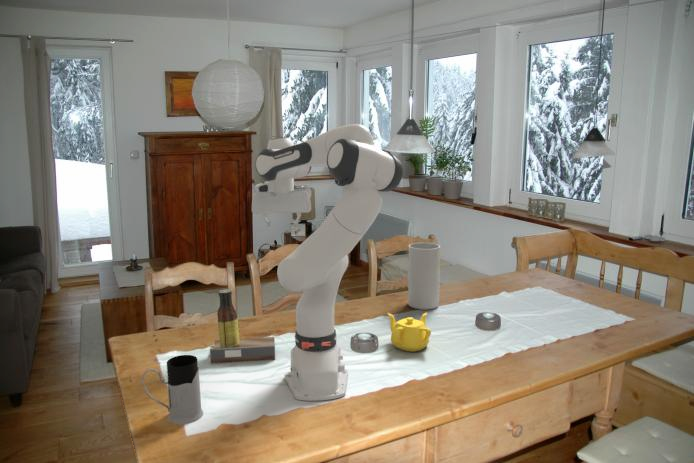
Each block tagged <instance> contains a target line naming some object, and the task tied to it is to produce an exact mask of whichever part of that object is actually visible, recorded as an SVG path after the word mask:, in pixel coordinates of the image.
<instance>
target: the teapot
mask: <svg viewBox="0 0 694 463" xmlns="http://www.w3.org/2000/svg"><path fill="white" fill-rule="evenodd" d="M387 315H388V316H389V319H390V332H391V335H390V342H391V343H392V346H393V347H395V348H397V349H399V350H402V351H405V352H411V353H412V352H413V353H414V352H418V351H421V350H423V349H425V348H427V346H428V344H429V343H430V337H431V335H432V330H431V329H430V328H429V327H426V318H427V315H428V312H424V313H422V315H421V317H420V320H418V319H414V317H412V316H411V317H410V316H409V317H406V318H402V319H399V320H398V321H396V319H395V317H394V315H393V314H392V313H390V312H387Z"/></svg>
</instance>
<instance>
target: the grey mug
mask: <svg viewBox="0 0 694 463" xmlns="http://www.w3.org/2000/svg"><path fill="white" fill-rule="evenodd" d="M149 372H155V373H157V375H158V377H159V382H160V384H161V385H167V395H168V405H167V404H166V403H164V402H162V401H160V400H158V399H157V398H155V397H154V396H152V394H150V392H149V391H148V390H147V387H146V385H145V380H144V379H145V378H144V377H145V375H146V374H147V373H149ZM166 372H167V381H165V382H164V381H163V380H162V375H161V373H160V371H159V370H157V369H155V368H150V369H149V368H148V369H147V370H146V371H144V372H143V374H142V377H141V378H142V379H141V381H142V383H141V384H142V387H143V389H144V391H145V393H146V394H147V397H149V398H150V399H151V400H153V401H154V402H156V403H158V404H159V405H161V406H163V407H165V408H166V409H167V412H168V413H169V414H168V417H167V419H168V421H169V422H170V423H171V424H175V425H186V424H187V425H188V424H192V423H195V422H197V421H199V420H200V419H201V418H203V416H204V410H203V409H202V401H201V400H202V398H201V387H200V386H201V385H200V384H201V383H200V382H201V381H200V367H199V363H198V357H196V356H195V355H192V354H191V355H190V354H182V355H176V356H173V357H171V358H169V359H168V360H167V361H166Z"/></svg>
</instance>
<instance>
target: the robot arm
mask: <svg viewBox="0 0 694 463" xmlns="http://www.w3.org/2000/svg"><path fill="white" fill-rule="evenodd" d="M254 165H255V170H256V172H257V174H258V175H259V176H260V177H261V178H262V179H263V180H265V181H262V182H260V183H258V184H255V186H254V191H255V192H254V193H253V196H252V199H251V200H252V201H251V212H252V214H253V215H262V218H263V220H264V222H265V227H266V228H269V227H271V220H268V218H267V216H268V215H269V214H296V216H297V217H296V219H293V226H295V227H298V226H299V220H300V219H301V217H302V214H305V213H307V214H308V213H310V212H311V210H312V203H311V197H312V196H313V194H312V193H313V192H312V191H313V190H312V188H311V187H310V186H308V185H295V179H299V178H300V179H301V178H304V177H307V176H308V175H309V174H310V172H311V170H312V167H313V168H327V169H328V170H329V173H330V175H331V176H332V178H334V183H335V185H337V187H344V190H343V193H342V196H341V197H340V198H339V200H338V201H337V202H336V204H335V205H334V206H333V207H332V209H331V210H330V212H329V213H328V215H327V216H326V217H325V218H324V220H323V221H322V222H321V224H320V225H319V226H318V227H317V228H316V229H315V230H314V231H313V233H311V234H310V235H309V236H308V237H307V238H306V239H305V240H304V241H302V243H300V244H299V245H298V247H296V248H295V250H293V251H292V252H291V253H290V254H288V255H287V256H286V257H284V258H283V259H282V260H281V261H280V262H279V263H278V265H277V270H276V271H277V272H276V274H277V279H278V282H279V283H280V285H281V286H282V287H283V288H284V289H285V290H287V291H288V292H290V293H291V292H293V293H295V292H303V293H302V294H301V297H300V298H299V300H298V301H297V304H296V307H295V314H296V316H295V318H296V330H295V332H294V339H295V341H294V342H295V345H294V346H293V348H292V349H291V350H290V371H288V372H285V374H284V377H283V378H284V380H285V381H286V384H287V385H288V387H289V389H290V391H291V393H292V395H293V397H294V398H295V399H296V400H298V401H306V402H307V401H308V402H309V401H310V402H313V401H314V402H315V401H316V402H317V401H318V402H319V401H328V400H334V399H339V398H343V397H344V396H346V392H347V386H348V379H349V378H348V376H349V370H348V369H346V368H345V367H346V366H345V364H344V363H342V360H344V356H343V354H342V352H341V349H342V348H341V346H339V344H337V332H336V328H335V305H336V299H337V294H338V290H339V286H340V285H341V284H340V283H341V280H342V278H343V276H344V274H345V272H346V271H347V269H348V267H349V264H350V263H349V254H350V253H351V252H352V251H353V249H355V247H356V246H357V244H358V243H359V242H360V241H361V239H362V238H363V237H364V235H366V233H367V232H368V230H369V229H370V228H371V226H372V224H373V223H374V222H375V220H376V218H377V217H378V215H379V214H380V211H381V209H382V206H383V197H382V195H381V192H383V193H385V192H391V191H394V190H395V189H397V187H398V186H399V184H400V183H401V181H402V178H403V176H404V175H403V173H404V168H403V164H402V162H401V161H400V160H399V159H398V158H397V156H395V155H393V153H390V152H388V151H386V150H385V149H379V148H377V147H375V146H374V139H373V135H372V133H371V131H370V130H369V129H368V127H366V125H363V124H360V123H351V124H345V125H341V126H338V127H335V128H332V129H330V130H328V131H325V132H323V133H321V134H319V135H316V136H314V137H312V138H309V139H307V140H305V141H302V142H300V143H297V144H294V142H293V141H292V139H291V138H290V137H284V136H282V137H275V138H271V139H270V140H268V143H267V148H263V149H262V150H261V151H260V152H259V153H258V154H257V156H256V159H255V164H254ZM267 214H268V215H267Z"/></svg>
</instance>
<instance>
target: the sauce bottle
mask: <svg viewBox="0 0 694 463" xmlns="http://www.w3.org/2000/svg"><path fill="white" fill-rule="evenodd" d="M232 293H233V292H232V289H221V290H218V296H219V307H218V309H217V325H218V326H217V328H218V336H219V339H218V340H220V346H221V348H231V347H239V339H240V335H239V334H240V333H239V323H238V322H239V321H238V314H237V311H236V309H235V307H234V304H233V300H232V295H233V294H232Z"/></svg>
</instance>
